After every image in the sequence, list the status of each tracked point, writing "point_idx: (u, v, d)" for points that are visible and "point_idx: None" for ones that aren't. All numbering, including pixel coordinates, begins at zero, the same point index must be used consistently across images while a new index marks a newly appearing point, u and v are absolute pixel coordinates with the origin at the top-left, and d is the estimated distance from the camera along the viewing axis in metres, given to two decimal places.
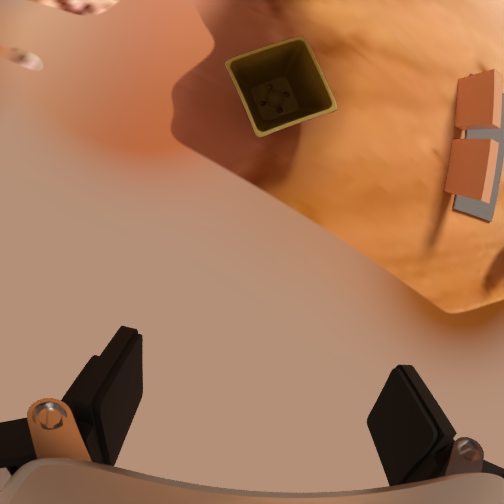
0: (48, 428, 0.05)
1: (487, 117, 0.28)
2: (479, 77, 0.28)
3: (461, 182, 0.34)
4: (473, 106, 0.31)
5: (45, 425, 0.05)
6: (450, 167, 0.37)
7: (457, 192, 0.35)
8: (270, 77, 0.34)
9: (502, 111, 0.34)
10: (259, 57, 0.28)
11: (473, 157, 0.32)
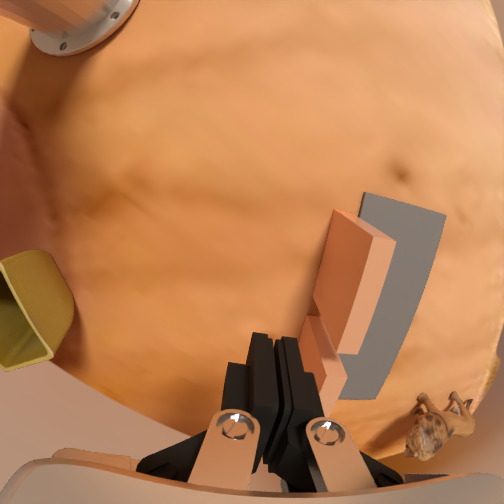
0: (226, 436, 0.07)
1: (336, 332, 0.20)
2: (352, 234, 0.21)
3: None
4: (332, 286, 0.23)
5: (226, 432, 0.07)
6: None
7: None
8: None
9: (427, 246, 0.26)
10: None
11: None
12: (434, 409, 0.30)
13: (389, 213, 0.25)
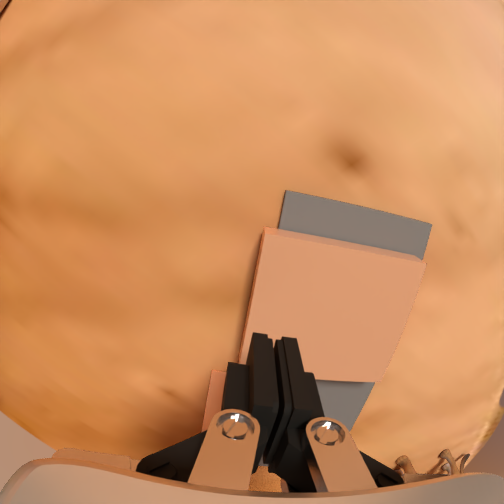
0: (226, 435, 0.07)
1: (370, 370, 0.17)
2: (372, 268, 0.15)
3: None
4: (327, 339, 0.16)
5: (226, 432, 0.07)
6: None
7: None
8: None
9: None
10: None
11: None
12: None
13: (330, 223, 0.16)
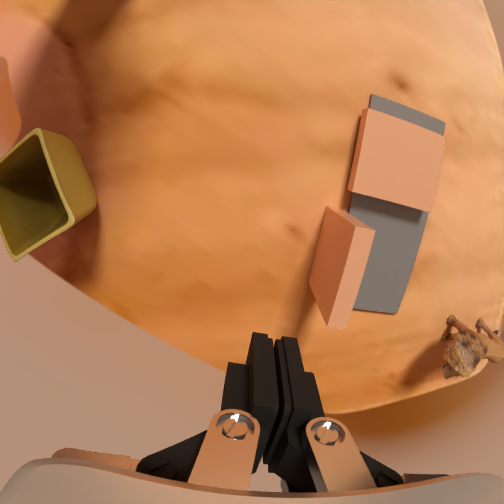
0: (226, 436, 0.07)
1: (424, 201, 0.27)
2: (419, 133, 0.25)
3: (319, 281, 0.28)
4: (400, 173, 0.27)
5: (226, 432, 0.07)
6: (317, 250, 0.30)
7: (314, 294, 0.29)
8: None
9: None
10: (14, 160, 0.21)
11: (335, 248, 0.25)
12: (466, 327, 0.30)
13: (394, 113, 0.27)
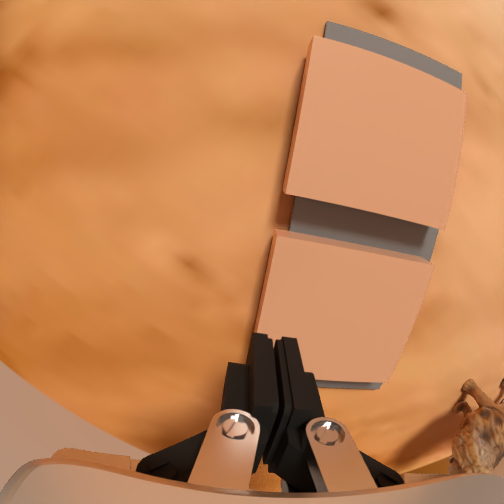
0: (226, 436, 0.07)
1: (433, 209, 0.14)
2: (418, 82, 0.12)
3: (322, 356, 0.17)
4: (385, 156, 0.14)
5: (226, 432, 0.07)
6: (272, 318, 0.16)
7: None
8: None
9: None
10: None
11: (372, 302, 0.16)
12: (489, 401, 0.17)
13: None
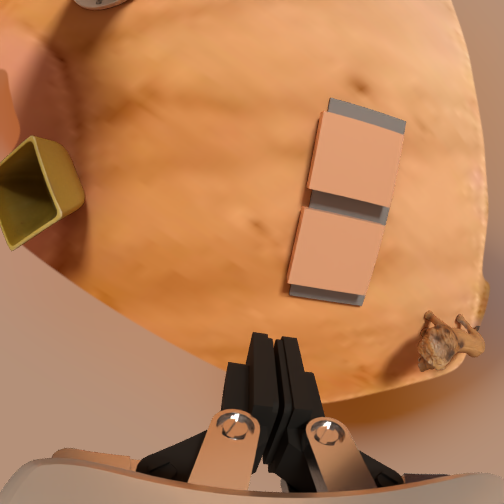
0: (226, 436, 0.07)
1: (382, 196, 0.30)
2: (375, 132, 0.29)
3: (327, 274, 0.33)
4: (356, 170, 0.30)
5: (226, 432, 0.07)
6: (301, 251, 0.32)
7: (320, 286, 0.33)
8: None
9: None
10: (13, 163, 0.24)
11: (352, 244, 0.32)
12: (441, 322, 0.33)
13: (352, 115, 0.30)
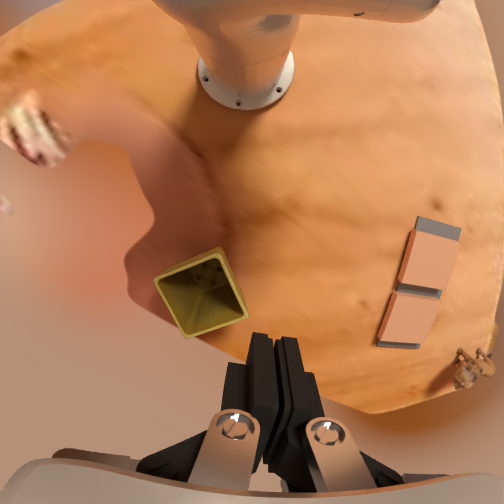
0: (226, 435, 0.07)
1: (442, 283, 0.43)
2: (444, 243, 0.41)
3: (404, 333, 0.45)
4: (430, 269, 0.42)
5: (226, 432, 0.07)
6: (391, 320, 0.45)
7: (398, 340, 0.46)
8: None
9: None
10: None
11: (421, 314, 0.44)
12: (469, 356, 0.46)
13: (430, 228, 0.42)
